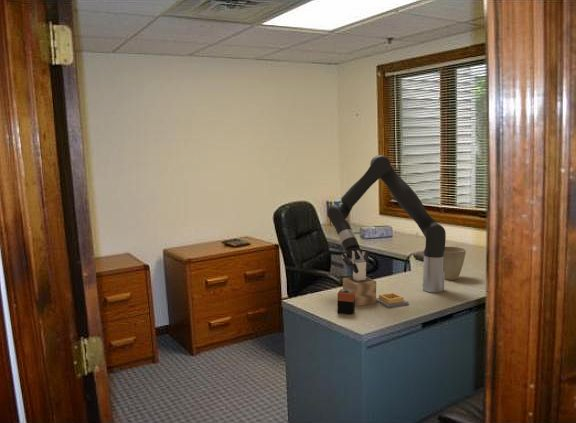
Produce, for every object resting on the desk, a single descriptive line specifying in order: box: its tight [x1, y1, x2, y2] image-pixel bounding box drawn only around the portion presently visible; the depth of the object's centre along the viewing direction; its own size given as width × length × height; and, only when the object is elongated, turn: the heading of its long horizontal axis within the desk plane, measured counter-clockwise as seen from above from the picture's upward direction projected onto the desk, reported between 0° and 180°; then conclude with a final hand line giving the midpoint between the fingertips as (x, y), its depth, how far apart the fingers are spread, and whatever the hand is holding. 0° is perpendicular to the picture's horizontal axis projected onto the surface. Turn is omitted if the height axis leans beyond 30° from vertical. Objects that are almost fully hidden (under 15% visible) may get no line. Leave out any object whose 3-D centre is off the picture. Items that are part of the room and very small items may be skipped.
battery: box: [336, 288, 356, 316], centre depth 207 cm, size 4×7×10 cm, turn 71°
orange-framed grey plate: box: [376, 292, 410, 309], centre depth 220 cm, size 11×11×3 cm
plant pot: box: [443, 246, 467, 281], centre depth 260 cm, size 15×15×16 cm
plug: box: [352, 259, 367, 281], centre depth 222 cm, size 4×4×9 cm
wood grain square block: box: [342, 276, 377, 307], centre depth 223 cm, size 11×11×11 cm
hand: (361, 271), depth 220 cm, fingers closed on plug, 4 cm apart
